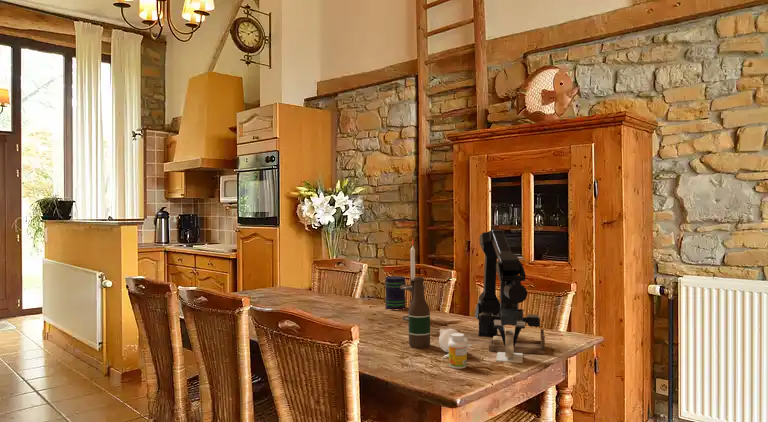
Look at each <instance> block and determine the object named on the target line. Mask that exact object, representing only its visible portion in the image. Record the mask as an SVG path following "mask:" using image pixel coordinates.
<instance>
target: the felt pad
mask: <svg viewBox="0 0 768 422" xmlns="http://www.w3.org/2000/svg"><path fill="white" fill-rule="evenodd" d="M523 354H524V353H515V352H514V355H513V358H508V357H505V352H497V355H496V357H495V358H496V360H495V361H496V362H500V363H504V362H505V363H516V364H518V363H521V364H523V361H524V360H523V358H524V356H523Z"/></svg>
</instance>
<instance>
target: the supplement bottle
mask: <svg viewBox="0 0 768 422" xmlns="http://www.w3.org/2000/svg"><path fill="white" fill-rule="evenodd" d="M464 337H465V334H464V333H463V332H461V333H460V332H459V333H453V334H451V339H452V341H450V342H449V353H448V354H449V357H448V365H449V367H450V368H452V369H457V370H458V369H460V370H462V369H465V368H466V367H467V365H468V362H467V361H468V360H467V359H468V356H467V355H468V354H467V353H468V352H467V351H468V349H467V344H466V342H465V341H464Z"/></svg>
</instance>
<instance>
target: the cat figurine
mask: <svg viewBox="0 0 768 422" xmlns="http://www.w3.org/2000/svg"><path fill="white" fill-rule="evenodd" d="M453 333H460V332H459V331H458V330H457V329H454V328H447V329H444V328H440V329H439V337H438V345H439V347H440V349H441V350H443V352H445V353H447V354H445V355H443V356H442V358H443V359H447V358H449V342H450V341H452V339H451V334H453ZM464 341H465V342H466V344H467V350H468V349H469V348H471V347H472V344H471V343H468V341H469V338H468V337H465V336H464Z"/></svg>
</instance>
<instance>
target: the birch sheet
mask: <svg viewBox="0 0 768 422" xmlns="http://www.w3.org/2000/svg"><path fill="white" fill-rule="evenodd" d="M514 333H515V329H505V357H508V358H513V355H514V353H515V352H514V347H513V340H514Z"/></svg>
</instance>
